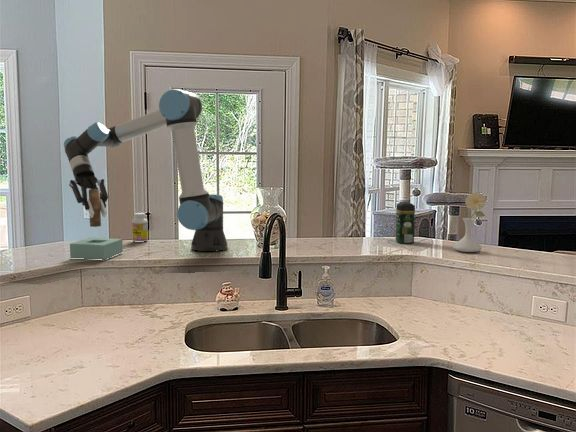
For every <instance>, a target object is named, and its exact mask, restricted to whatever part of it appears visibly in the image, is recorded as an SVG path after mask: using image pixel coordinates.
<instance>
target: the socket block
mask: <svg viewBox="0 0 576 432" xmlns="http://www.w3.org/2000/svg"><path fill="white" fill-rule="evenodd" d="M123 247H124V246H123V239H122V238H105V237H103V238H102V237H101V238H99V237H88V238H84V239H82V240H78V241H75V242H71V243H69V254H70V255H69V257H70V258H84V259H102V260H105V259H107V258H110V257H112V256H114V255H116V254H119V253H121V252H123V251H124V249H123Z"/></svg>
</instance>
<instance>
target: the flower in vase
mask: <svg viewBox="0 0 576 432" xmlns="http://www.w3.org/2000/svg"><path fill="white" fill-rule="evenodd" d="M464 201H465V202H464V203H465V206H466V208H468V209H469V210H472V211H474V212H473V214H470V213H469V212H467V211H465V210H463V212H464V213H465V214H467V215H469V216H470V217H463V218H462V221H463V222H464V225H465V234H464V236H463V237H462V238H461V239H459V240H458V241H457V242H455V244H453V249H454V250H456V251H459V252H463V253H476V252H480V251H482V249H483V247H482V246H481V244H480V243H479V242H478V241H476V240H475V239H474V238H473V237H472V227H473V224H474V222H475V220H476V218H477V217H478V218H479V217H480V218H481V217H485V216H486V214H485V213H484V212H483V211H481V209H483V208H484V206H485V205H486V203H487V200H486V196H485V195H484V194H482V193H480V192H478V191H475V192H471V194H470V193H469V194H468V195H467V197H466V199H465V200H464ZM474 215H475V216H476V218H473V217H474Z"/></svg>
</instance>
